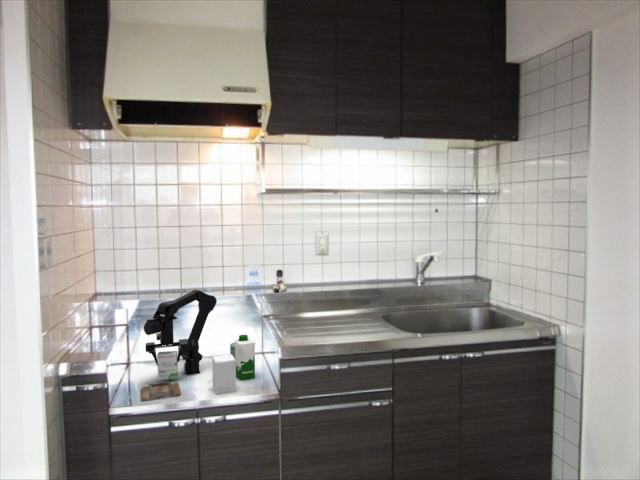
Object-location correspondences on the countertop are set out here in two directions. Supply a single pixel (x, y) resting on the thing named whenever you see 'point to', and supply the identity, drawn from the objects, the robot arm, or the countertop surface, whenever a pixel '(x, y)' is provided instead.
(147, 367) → the countertop surface
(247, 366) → the milk carton
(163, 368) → the ink box
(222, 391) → the supplement box
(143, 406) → the countertop surface
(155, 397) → the base plate
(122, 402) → the countertop surface
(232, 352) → the canned tomato
